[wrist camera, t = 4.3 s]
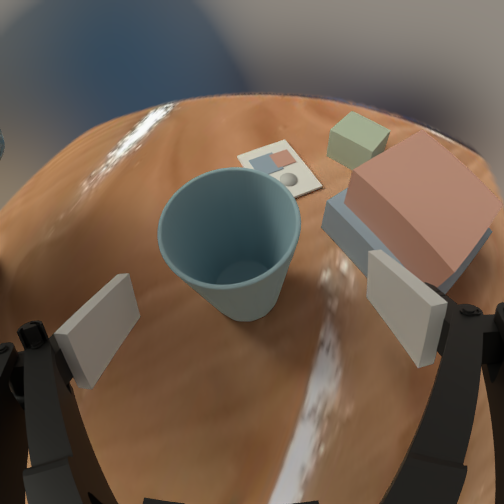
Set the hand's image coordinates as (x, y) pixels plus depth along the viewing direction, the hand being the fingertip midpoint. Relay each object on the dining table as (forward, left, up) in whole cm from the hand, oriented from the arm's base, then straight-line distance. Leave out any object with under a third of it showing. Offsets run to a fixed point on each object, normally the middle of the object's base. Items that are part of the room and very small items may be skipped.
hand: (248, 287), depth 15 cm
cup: (-3, +1, -9) cm, 9 cm away
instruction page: (-12, +11, -9) cm, 18 cm away
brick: (-9, +20, -9) cm, 24 cm away
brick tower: (+2, +16, -9) cm, 18 cm away
